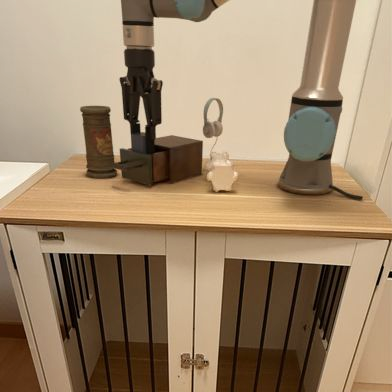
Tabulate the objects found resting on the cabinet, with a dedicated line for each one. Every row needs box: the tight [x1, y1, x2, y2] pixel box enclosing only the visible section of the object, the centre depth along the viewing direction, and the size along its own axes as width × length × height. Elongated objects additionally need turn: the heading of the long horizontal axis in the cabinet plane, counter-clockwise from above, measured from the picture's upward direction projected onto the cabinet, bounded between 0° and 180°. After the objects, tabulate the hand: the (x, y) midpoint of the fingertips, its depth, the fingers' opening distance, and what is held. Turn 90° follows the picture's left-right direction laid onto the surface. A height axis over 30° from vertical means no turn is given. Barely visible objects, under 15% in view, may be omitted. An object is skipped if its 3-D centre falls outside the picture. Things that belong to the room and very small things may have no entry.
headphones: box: [202, 97, 224, 152], centre depth 128 cm, size 8×4×20 cm, turn 139°
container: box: [79, 105, 118, 179], centre depth 120 cm, size 9×9×18 cm
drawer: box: [109, 147, 169, 186], centre depth 117 cm, size 20×11×8 cm, turn 141°
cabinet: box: [155, 134, 204, 184], centre depth 124 cm, size 15×13×10 cm
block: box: [130, 131, 154, 154], centre depth 113 cm, size 5×5×5 cm
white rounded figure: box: [204, 150, 239, 193], centre depth 116 cm, size 15×9×8 cm, turn 2°
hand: (143, 150), depth 115 cm, fingers closed on block, 5 cm apart
